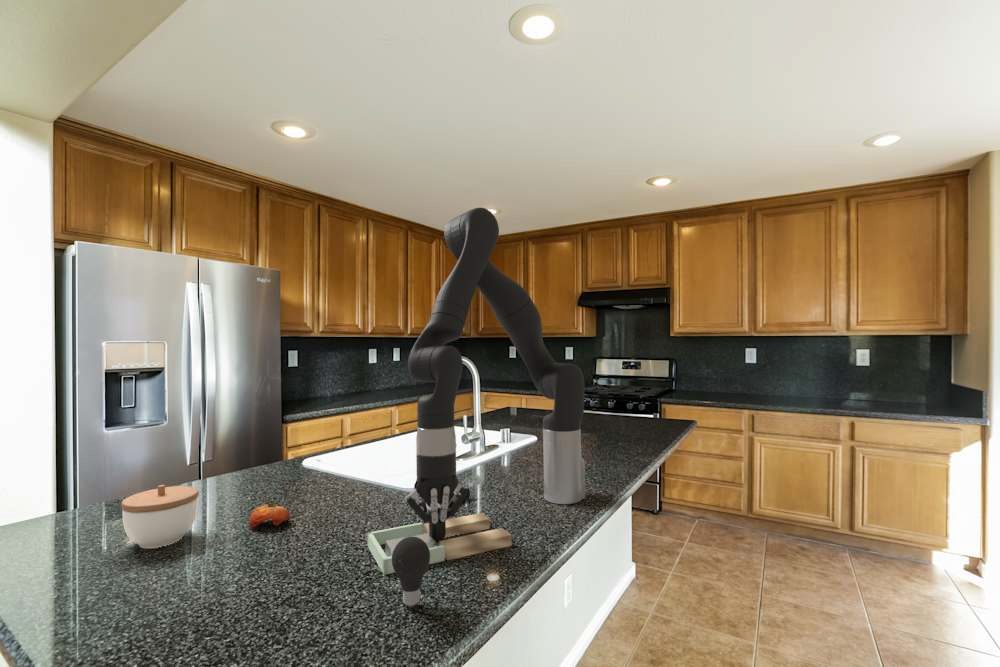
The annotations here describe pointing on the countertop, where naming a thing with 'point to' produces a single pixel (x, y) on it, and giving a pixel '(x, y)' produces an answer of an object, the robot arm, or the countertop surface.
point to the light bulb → (411, 567)
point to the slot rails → (471, 536)
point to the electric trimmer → (424, 508)
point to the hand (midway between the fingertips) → (437, 540)
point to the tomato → (268, 514)
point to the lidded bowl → (160, 515)
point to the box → (393, 533)
